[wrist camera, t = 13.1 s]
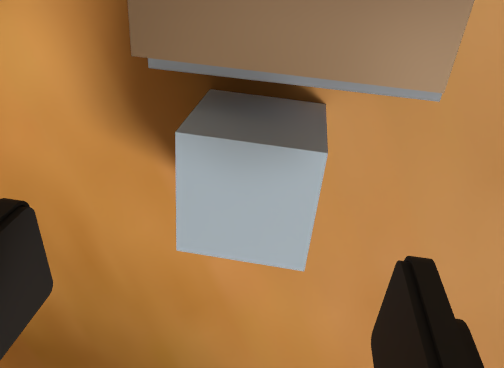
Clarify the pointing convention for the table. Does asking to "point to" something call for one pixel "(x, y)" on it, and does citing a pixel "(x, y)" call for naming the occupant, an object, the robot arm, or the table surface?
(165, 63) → the grey rectangular block
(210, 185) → the bluegrey block
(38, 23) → the table surface
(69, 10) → the table surface
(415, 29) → the walnut cube
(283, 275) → the table surface
